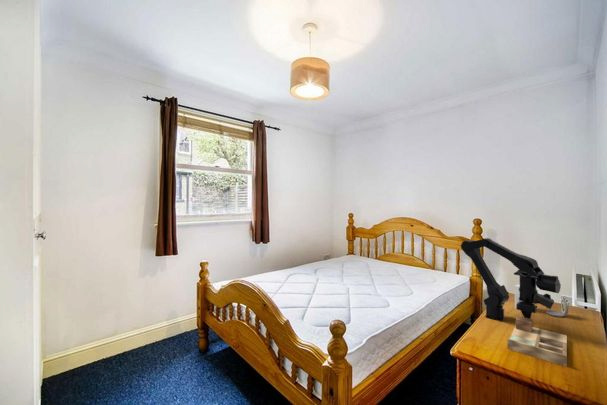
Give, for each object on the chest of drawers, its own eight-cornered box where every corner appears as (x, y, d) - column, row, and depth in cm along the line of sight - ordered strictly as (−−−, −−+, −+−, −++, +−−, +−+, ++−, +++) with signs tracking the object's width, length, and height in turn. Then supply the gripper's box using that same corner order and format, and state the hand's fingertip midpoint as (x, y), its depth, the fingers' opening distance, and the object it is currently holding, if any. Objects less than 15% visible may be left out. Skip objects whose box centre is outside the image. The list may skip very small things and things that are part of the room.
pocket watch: (542, 312, 136) (542, 292, 136) (557, 311, 137) (557, 292, 137) (559, 319, 128) (558, 298, 128) (574, 318, 129) (574, 297, 129)
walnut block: (515, 328, 113) (515, 319, 113) (517, 325, 117) (517, 315, 117) (531, 332, 110) (531, 323, 110) (532, 328, 113) (532, 319, 113)
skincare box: (524, 311, 137) (524, 287, 138) (514, 308, 141) (514, 285, 141) (529, 308, 141) (529, 285, 141) (518, 306, 145) (518, 283, 145)
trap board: (507, 348, 101) (507, 339, 101) (516, 327, 119) (516, 319, 119) (566, 366, 90) (566, 356, 90) (566, 340, 108) (566, 331, 108)
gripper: (551, 296, 106) (551, 335, 106) (553, 286, 119) (553, 321, 119) (516, 289, 114) (516, 326, 114) (521, 281, 127) (521, 314, 127)
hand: (527, 322), depth 118 cm, fingers closed
